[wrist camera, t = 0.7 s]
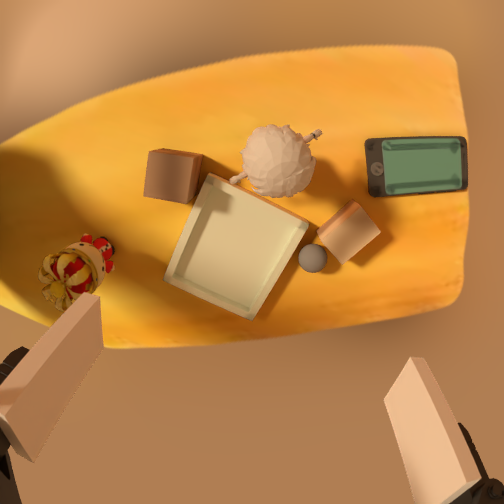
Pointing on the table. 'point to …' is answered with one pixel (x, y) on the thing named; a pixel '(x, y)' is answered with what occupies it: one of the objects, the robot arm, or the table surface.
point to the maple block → (348, 231)
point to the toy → (76, 270)
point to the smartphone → (416, 165)
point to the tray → (233, 247)
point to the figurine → (277, 161)
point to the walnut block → (172, 175)
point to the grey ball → (312, 258)
